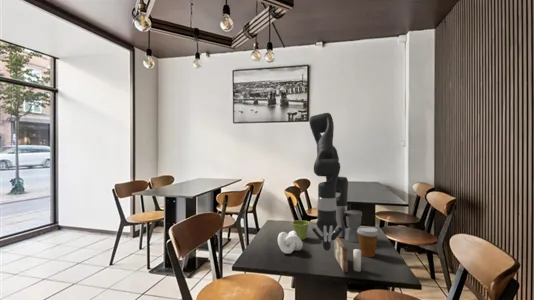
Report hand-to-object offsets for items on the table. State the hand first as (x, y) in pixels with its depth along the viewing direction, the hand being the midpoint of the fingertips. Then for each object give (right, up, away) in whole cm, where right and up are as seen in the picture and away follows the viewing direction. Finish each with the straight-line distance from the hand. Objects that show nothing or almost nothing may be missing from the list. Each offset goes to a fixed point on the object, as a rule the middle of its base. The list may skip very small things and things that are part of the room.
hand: (326, 249), depth 119 cm
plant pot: (-6, -8, +40) cm, 41 cm away
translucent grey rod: (+7, -8, +13) cm, 17 cm away
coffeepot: (+21, -8, +37) cm, 43 cm away
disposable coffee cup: (+22, -8, +17) cm, 29 cm away
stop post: (+12, -8, 0) cm, 15 cm away
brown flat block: (+7, -7, +4) cm, 11 cm away
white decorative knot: (-14, -8, +21) cm, 27 cm away
